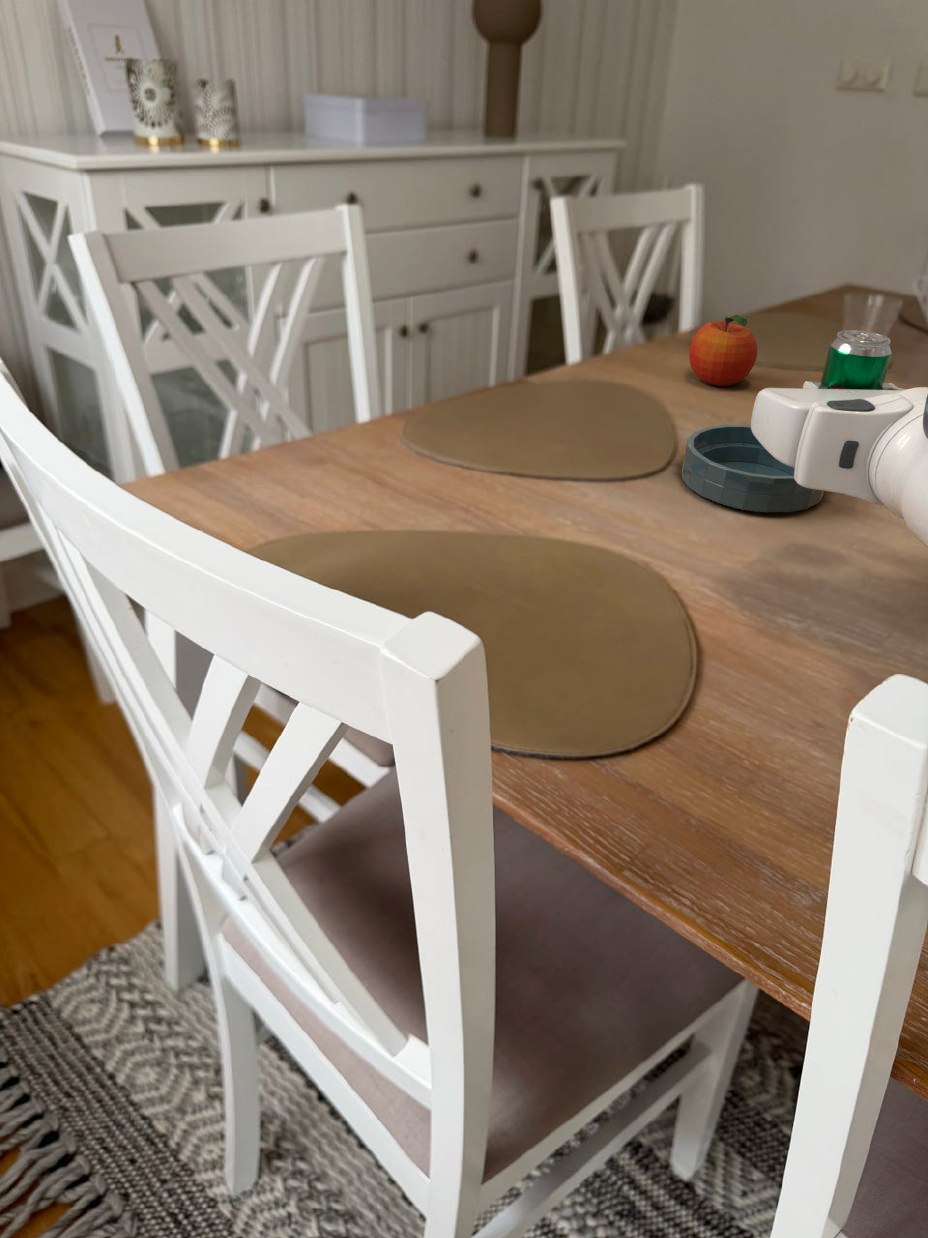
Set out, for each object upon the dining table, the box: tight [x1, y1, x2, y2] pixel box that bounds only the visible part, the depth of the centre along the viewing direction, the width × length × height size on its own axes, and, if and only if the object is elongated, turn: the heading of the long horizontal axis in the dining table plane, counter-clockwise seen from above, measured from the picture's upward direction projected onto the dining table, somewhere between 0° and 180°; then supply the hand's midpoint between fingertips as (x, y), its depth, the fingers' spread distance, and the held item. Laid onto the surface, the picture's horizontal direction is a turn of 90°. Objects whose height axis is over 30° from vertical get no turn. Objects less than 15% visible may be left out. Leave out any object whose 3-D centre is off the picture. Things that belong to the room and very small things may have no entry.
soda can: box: [820, 329, 893, 390], centre depth 83 cm, size 5×5×12 cm
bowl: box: [681, 424, 825, 513], centre depth 105 cm, size 15×15×4 cm
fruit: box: [688, 314, 758, 387], centre depth 136 cm, size 10×10×10 cm
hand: (844, 390), depth 84 cm, fingers closed on soda can, 5 cm apart
